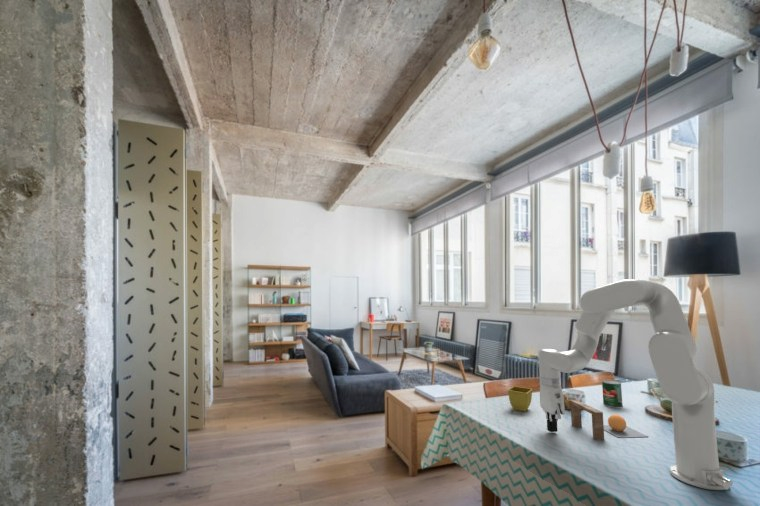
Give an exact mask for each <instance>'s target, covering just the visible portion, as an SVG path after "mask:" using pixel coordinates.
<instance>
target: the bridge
mask: <svg viewBox="0 0 760 506" xmlns="http://www.w3.org/2000/svg"><path fill="white" fill-rule="evenodd" d="M580 401H581V400H580ZM580 401H578V400H570V402H571V410H570V418H571V422H570V423H571V426H572V425H573V427H574V428H582V426H583V423H582V410H583V411H585V412H587V413H589V414H591V424H592V425H591V426H592V438H593V439H594V440H596V441H605V430H604V425H605V424H604V412H603V411H601V410H599V409H596V408H595V407H593V406H591V405H588V404H586V403H584V402H582V401H581V402H580Z"/></svg>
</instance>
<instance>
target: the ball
mask: <svg viewBox="0 0 760 506" xmlns="http://www.w3.org/2000/svg"><path fill="white" fill-rule="evenodd" d="M607 425H609V426H610V427H611V428H612V429H613V430H615V431H623V430H624V429H625V428H626V426H627V422H626V420H625V418H624V417H622V416H621V415H619V414H611V415H609V417H608V419H607Z"/></svg>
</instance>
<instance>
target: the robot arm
mask: <svg viewBox="0 0 760 506" xmlns="http://www.w3.org/2000/svg"><path fill="white" fill-rule="evenodd" d="M579 304H580V307H581V309H582V311H581V312H580V315H579V316H578V317H577V320H576V322H575V324H574V327H575V329H576V330H577V334H578V335H577V338H576V341H575V342H574V344H573V346H572V348H571V349H569V350H565V351H558V350H557V349H555V348H554V349H553V348H541V349H539V350H538V370H539V377H538V378H539V405H540V407H541V409H542V410H543V412H544V413H545V418H546V430H547V431H548V432H549V433H557V432H558V421H559V420H561V419H562V415H565V414H566V409H565V406H564V398H563V395H564V393H563V389H562V377H561V376H562V375H561V373H564V374H565V373H566V374H567V373H568V374H569V373H573V372H577V371H580V370H583V369H585V368H586V367H587V366H588V365H589V363H590V361H591V360H592V358H593V357H594V355H595V353H596V351H597V348H598V345H599V341H600V337H601V334H602V333H603V331H604V329H605V328H606V326H607V324H608V322H610V321H609V320H610V319H611V317H612V316H613V314H614V312H615V311H616V310H620V309H624V308H625V309H626V308H629V307H635V306H636V307H637V306H645V307H646V308H647V309H648V312H649V318H650V321H651V324H652V327H653V330H654V334H653V335H652V336H651V337H650V339H649V341H648V344H647V345H648V346H647V347H648V349H647V350H648V353H649V354H648V355H649V358H650V360H651V363H652V367H653V369H654V372H655V376H656V379H657V382H658V385H659V388H660V389H661V391H662V393H663V394H664V395H665V397H666V398H667V399H669V400H670V401H671V414H672V415H671V417H672V427H673V429H672V430H673V439H674V440H673V441H674V443H673V444H674V453H675V455H674V456H675V464H674V465H671V466H670V467H669V472H670V474H671V475H672V476H673V478H675V479H677V480H679V481H681V482H683V483H685V484H688V485H691V486H694V487H697V488H700V489H704V490H711V491H724V490H725V491H726V490H729V489H730V487H731V486H733V484H734V483H733V481H732V480H731V479H728V478H727V477H725V476H724V470H723V469H720V464H719V463H720V462H719V452H718V451H719V450H718V441H717V430H716V427H717V425H716V417H715V415H716V413H715V387H714V383H713V380H712V378H711V377H710V376H709V375H708V373H706V372H705V371H704V370H703V369H701V368H699V367H697V366H695V364H694V361H693V358H694V357H695V356H696V354H697V345H696V342H695V340H694V337H693V335H692V332H691V329H690V327H689V324H688V322H687V318H686V317H685V314H684V311H683V310H682V306H681V304H680V301H679V299H678V297H677V296H676V295H675V293H674V292H673V291H672V290H671V289H670V288H668V287H666V286H665V285H663V284H661V283H658V282H655V281H651V280H646V279H636V278H635V279H634V278H633V279H632V278H628V279H622V280H619V281H615V282H612V283H608V284H606V285H605V284H604V285H602V286H599V287H595V288H592V289H589V290H587V291H585V292H583V294H582V295H581V297H580V300H579Z"/></svg>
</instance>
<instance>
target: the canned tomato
mask: <svg viewBox="0 0 760 506" xmlns="http://www.w3.org/2000/svg"><path fill="white" fill-rule="evenodd" d="M601 387H602V388H601V389H602V403H603V405H604V406H606V407H609V406H610V408H614V407H622V408H623V394H622V391H623V390H622V382H620V381H617V380H611V379H602V380H601Z"/></svg>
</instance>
